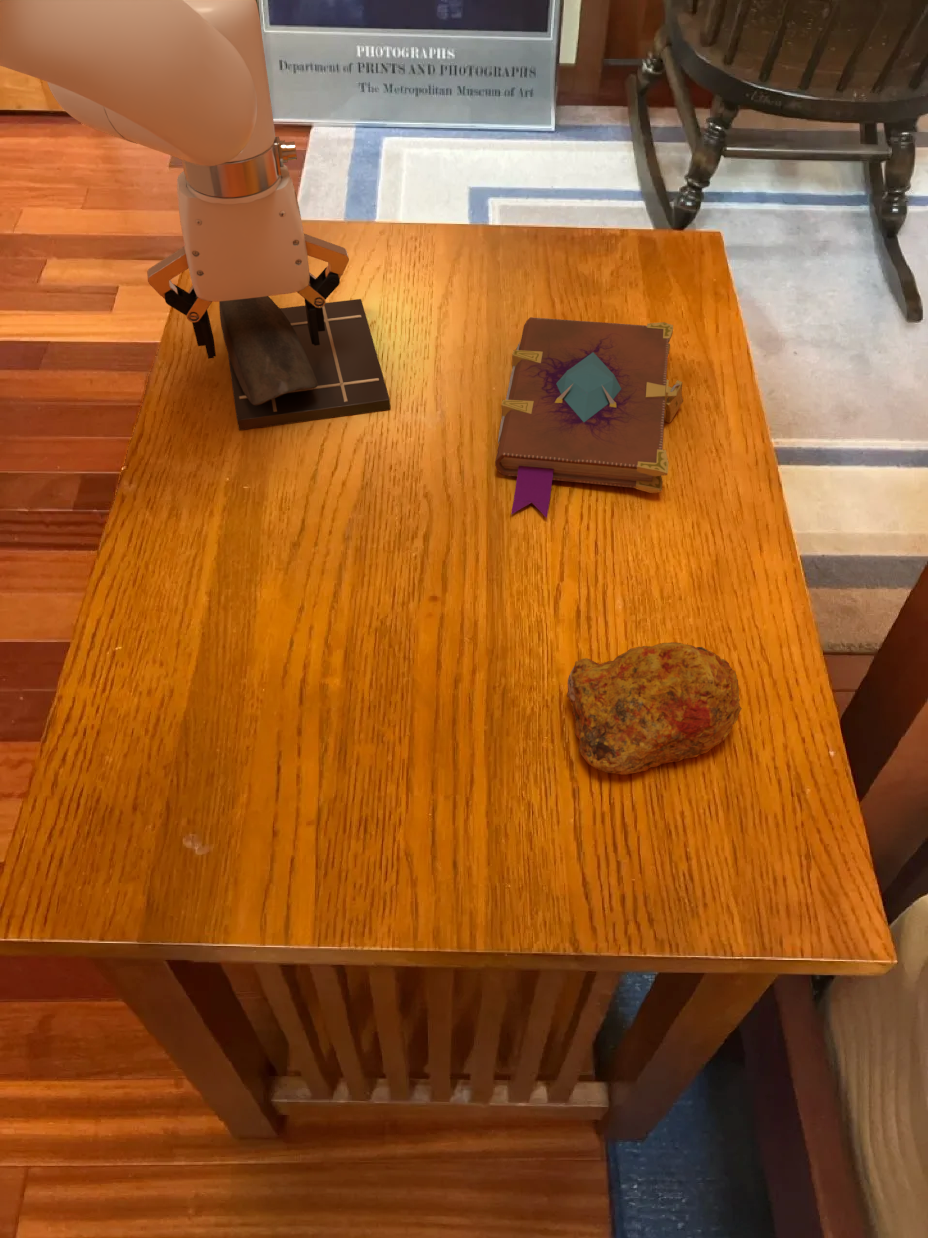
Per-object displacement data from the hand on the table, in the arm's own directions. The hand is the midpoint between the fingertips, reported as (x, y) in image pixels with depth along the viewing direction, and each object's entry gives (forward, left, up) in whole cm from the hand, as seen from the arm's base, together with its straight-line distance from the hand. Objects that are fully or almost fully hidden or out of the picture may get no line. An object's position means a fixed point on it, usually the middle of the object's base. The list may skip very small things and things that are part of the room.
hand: (263, 342), depth 87 cm
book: (+28, -14, -3) cm, 32 cm away
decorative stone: (0, 0, -2) cm, 2 cm away
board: (+4, 0, -3) cm, 5 cm away
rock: (+23, -45, -3) cm, 50 cm away
